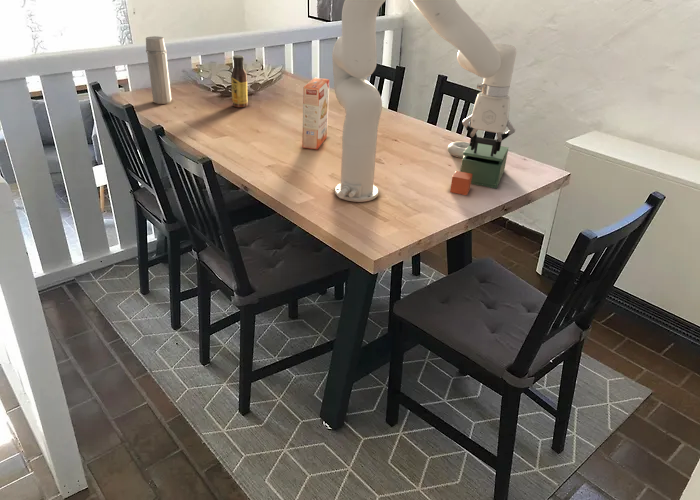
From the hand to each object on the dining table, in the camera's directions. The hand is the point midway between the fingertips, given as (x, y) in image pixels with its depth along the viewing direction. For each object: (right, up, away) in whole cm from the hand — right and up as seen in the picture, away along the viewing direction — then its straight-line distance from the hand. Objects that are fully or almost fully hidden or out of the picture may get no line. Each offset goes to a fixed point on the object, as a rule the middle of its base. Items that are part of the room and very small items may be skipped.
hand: (484, 150), depth 170 cm
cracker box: (-52, +8, +30) cm, 61 cm away
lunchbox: (+2, -6, +10) cm, 12 cm away
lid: (+2, 0, +6) cm, 6 cm away
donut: (-2, +3, +27) cm, 27 cm away
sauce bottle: (-85, +29, +63) cm, 110 cm away
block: (-7, -12, 0) cm, 14 cm away
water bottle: (-116, +30, +62) cm, 135 cm away
